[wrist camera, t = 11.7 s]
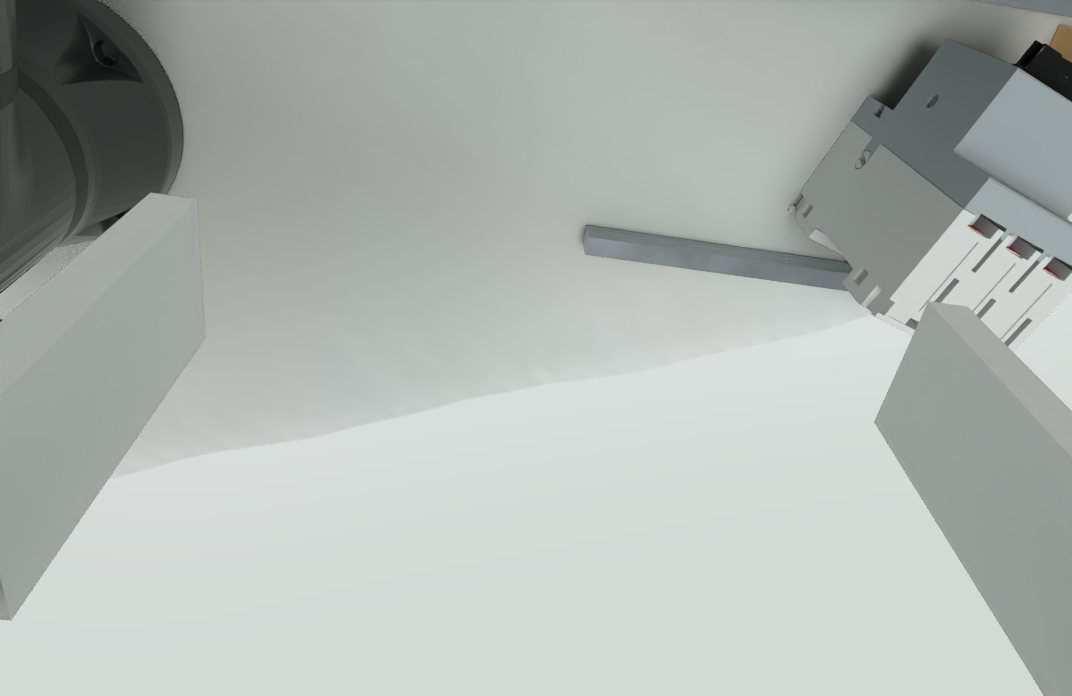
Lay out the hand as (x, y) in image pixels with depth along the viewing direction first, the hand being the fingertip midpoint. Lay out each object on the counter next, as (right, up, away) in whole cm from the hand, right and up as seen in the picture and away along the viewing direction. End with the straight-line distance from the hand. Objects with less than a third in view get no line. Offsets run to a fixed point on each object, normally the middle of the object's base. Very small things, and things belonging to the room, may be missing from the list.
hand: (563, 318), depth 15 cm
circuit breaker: (+22, +13, +36) cm, 44 cm away
